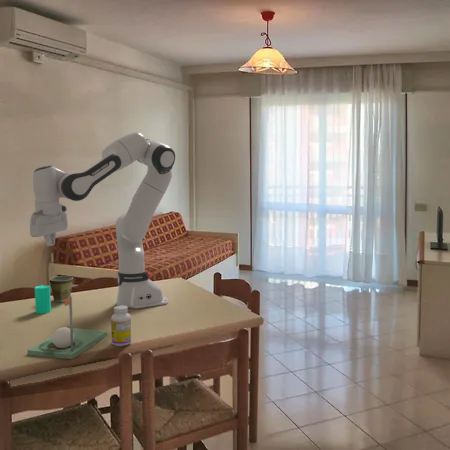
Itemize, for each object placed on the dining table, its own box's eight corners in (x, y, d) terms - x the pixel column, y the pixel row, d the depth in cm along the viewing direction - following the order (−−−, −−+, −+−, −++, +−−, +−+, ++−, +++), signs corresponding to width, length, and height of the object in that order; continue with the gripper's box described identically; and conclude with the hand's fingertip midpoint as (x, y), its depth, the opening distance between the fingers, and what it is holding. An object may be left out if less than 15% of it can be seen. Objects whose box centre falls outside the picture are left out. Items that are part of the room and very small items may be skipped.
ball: (58, 327, 179) (56, 349, 178) (78, 328, 183) (76, 349, 182) (50, 326, 184) (47, 347, 183) (69, 326, 188) (67, 347, 187)
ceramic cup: (76, 301, 242) (76, 279, 241) (54, 304, 237) (53, 282, 236) (67, 295, 253) (66, 273, 252) (45, 298, 247) (44, 276, 246)
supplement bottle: (113, 340, 191) (112, 304, 189) (132, 340, 191) (131, 304, 190) (110, 347, 184) (109, 310, 183) (130, 346, 185) (129, 309, 183)
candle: (46, 313, 223) (45, 285, 221) (32, 313, 224) (31, 284, 222) (53, 309, 229) (52, 281, 227) (40, 309, 230) (39, 281, 228)
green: (67, 331, 200) (65, 279, 198) (106, 335, 196) (105, 282, 194) (27, 354, 177) (24, 296, 175) (71, 359, 173) (69, 299, 171)
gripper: (39, 212, 196) (42, 250, 197) (69, 206, 215) (72, 241, 217) (23, 212, 197) (27, 250, 199) (54, 206, 217) (57, 241, 219)
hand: (50, 245), depth 208 cm, fingers closed
